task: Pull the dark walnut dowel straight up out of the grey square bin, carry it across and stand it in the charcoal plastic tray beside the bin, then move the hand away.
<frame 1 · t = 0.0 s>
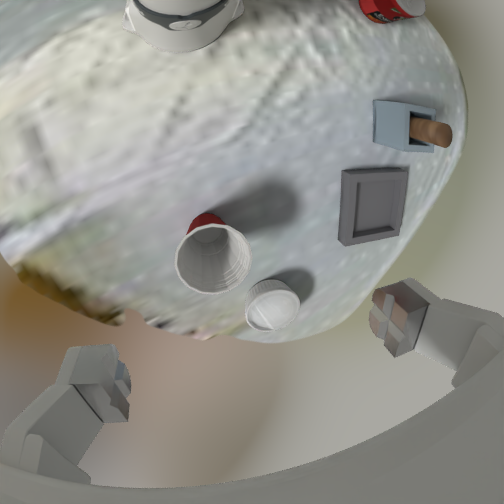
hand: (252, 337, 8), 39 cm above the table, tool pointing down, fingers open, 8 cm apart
ramekin: (266, 295, 59), on the table
grey square bin: (389, 122, 45), on the table
tray: (369, 202, 53), on the table
plastic cup: (206, 226, 48), on the table
canned food: (373, 7, 32), on the table
walnut dowel: (392, 122, 44), point 1 cm above the table, touching grey square bin
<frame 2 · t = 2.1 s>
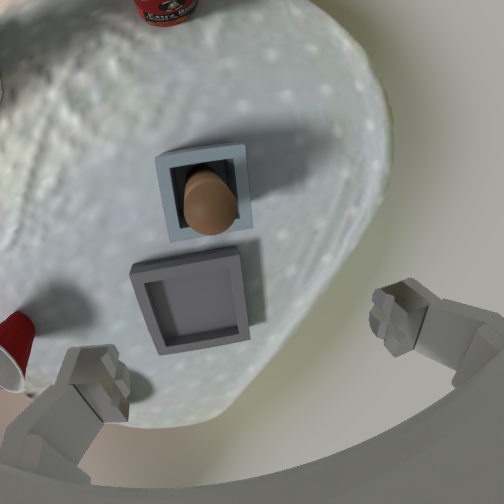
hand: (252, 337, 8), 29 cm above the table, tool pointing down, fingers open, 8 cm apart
grey square bin: (201, 179, 34), on the table
tray: (193, 299, 40), on the table
plastic cup: (22, 323, 35), on the table
canned food: (168, 5, 23), on the table
walnut dowel: (201, 180, 33), point 1 cm above the table, touching grey square bin
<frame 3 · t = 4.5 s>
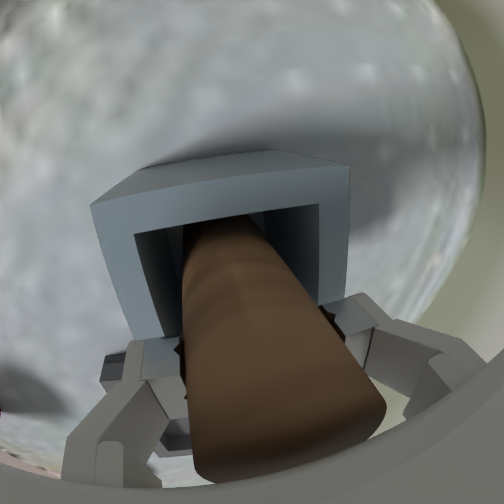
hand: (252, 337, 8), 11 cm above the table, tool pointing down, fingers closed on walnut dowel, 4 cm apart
grey square bin: (214, 222, 18), on the table
tray: (203, 397, 24), on the table
walnut dowel: (216, 227, 17), point 1 cm above the table, touching grey square bin, gripper
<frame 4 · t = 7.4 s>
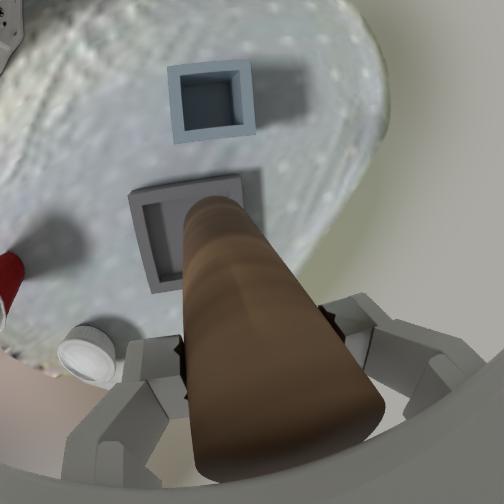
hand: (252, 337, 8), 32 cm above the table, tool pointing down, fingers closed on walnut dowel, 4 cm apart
ramekin: (91, 342, 43), on the table
grey square bin: (206, 107, 32), on the table
tray: (191, 231, 39), on the table
plastic cup: (12, 265, 34), on the table
walnut dowel: (216, 227, 17), point 22 cm above the table, touching gripper
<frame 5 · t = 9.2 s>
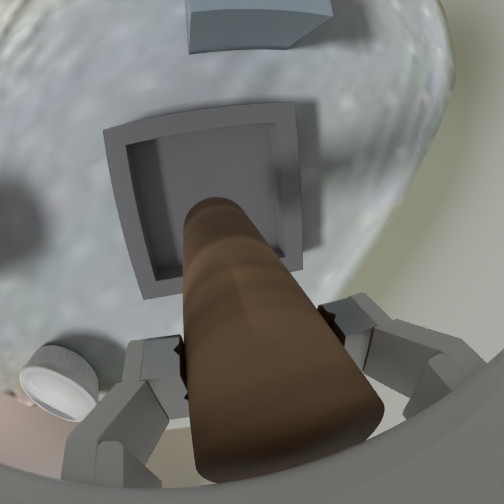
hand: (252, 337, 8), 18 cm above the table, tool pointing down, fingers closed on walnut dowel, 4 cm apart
ramekin: (66, 367, 28), on the table
grey square bin: (234, 11, 17), on the table
tray: (208, 195, 24), on the table
walnut dowel: (216, 228, 17), point 8 cm above the table, touching gripper
when the fingers open (13 cm above the table, at t = 10.6 s): walnut dowel drops 2 cm, resting on tray.
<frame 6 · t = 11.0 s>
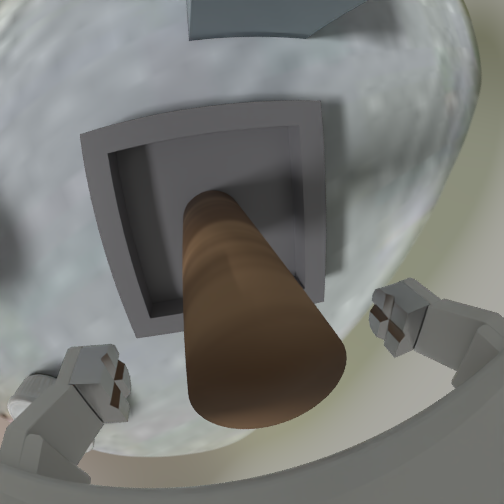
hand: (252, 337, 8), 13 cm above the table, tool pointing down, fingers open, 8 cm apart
ramekin: (57, 396, 24), on the table
tray: (212, 214, 20), on the table
walnut dowel: (212, 219, 19), point 1 cm above the table, touching tray
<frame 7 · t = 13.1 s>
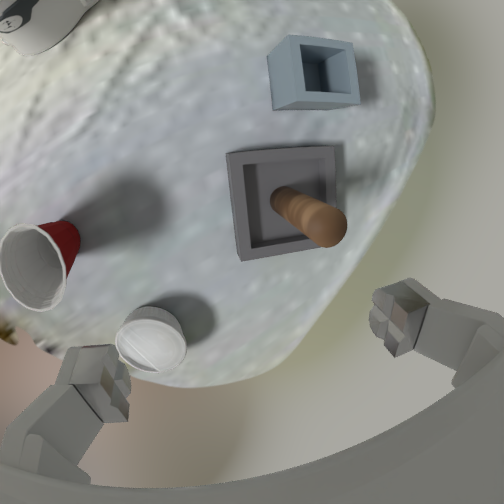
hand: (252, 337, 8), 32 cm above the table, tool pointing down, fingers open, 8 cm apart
ramekin: (152, 327, 43), on the table
grey square bin: (298, 82, 34), on the table
tray: (281, 198, 40), on the table
plastic cup: (65, 237, 34), on the table
walnut dowel: (283, 200, 39), point 1 cm above the table, touching tray
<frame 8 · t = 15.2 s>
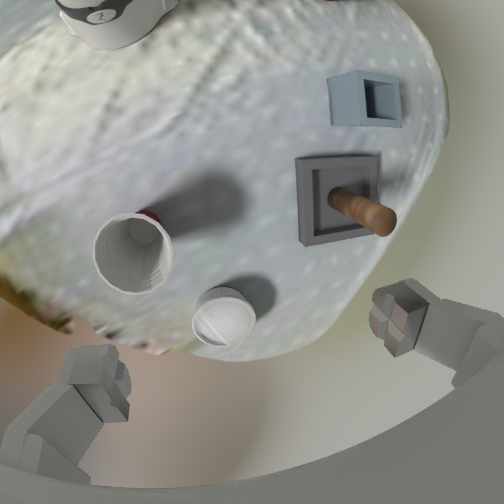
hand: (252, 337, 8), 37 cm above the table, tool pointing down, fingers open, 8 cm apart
ramekin: (220, 306, 52), on the table
grey square bin: (349, 102, 41), on the table
tray: (334, 196, 48), on the table
plastic cup: (144, 226, 42), on the table
walnut dowel: (337, 198, 47), point 1 cm above the table, touching tray
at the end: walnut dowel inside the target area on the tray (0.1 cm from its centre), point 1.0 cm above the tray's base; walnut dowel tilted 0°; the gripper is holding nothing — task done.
